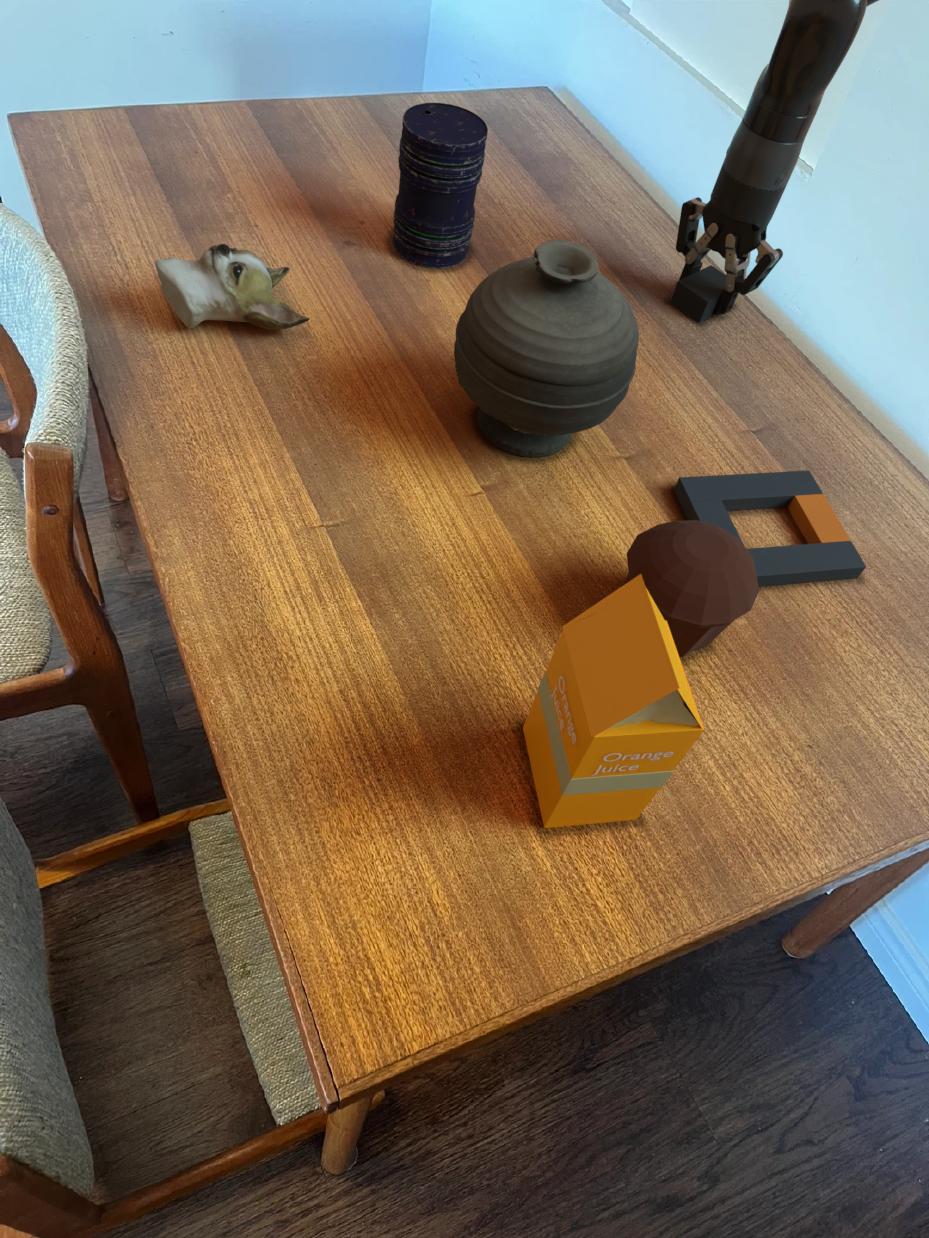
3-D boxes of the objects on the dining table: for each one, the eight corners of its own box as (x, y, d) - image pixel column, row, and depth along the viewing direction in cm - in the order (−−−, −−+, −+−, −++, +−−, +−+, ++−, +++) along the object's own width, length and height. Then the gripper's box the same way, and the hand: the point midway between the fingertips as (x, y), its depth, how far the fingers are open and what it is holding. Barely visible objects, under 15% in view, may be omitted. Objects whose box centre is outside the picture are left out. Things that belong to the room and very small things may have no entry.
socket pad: (801, 482, 94) (809, 470, 93) (857, 578, 87) (866, 566, 86) (673, 489, 91) (679, 477, 89) (720, 590, 83) (727, 578, 82)
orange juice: (610, 720, 73) (696, 570, 57) (638, 820, 68) (740, 686, 52) (520, 726, 71) (582, 574, 55) (541, 829, 66) (616, 694, 50)
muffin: (625, 673, 76) (663, 604, 68) (590, 573, 82) (621, 500, 74) (747, 661, 79) (797, 594, 71) (705, 565, 85) (746, 494, 77)
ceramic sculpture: (146, 216, 90) (290, 217, 95) (152, 290, 97) (286, 287, 102) (162, 278, 85) (314, 275, 90) (167, 352, 92) (308, 345, 97)
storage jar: (485, 253, 111) (506, 132, 99) (431, 278, 106) (446, 154, 94) (430, 216, 114) (444, 94, 103) (374, 239, 109) (383, 114, 98)
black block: (702, 285, 114) (711, 264, 112) (732, 306, 112) (741, 285, 110) (669, 302, 111) (677, 281, 108) (699, 323, 109) (708, 302, 107)
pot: (502, 508, 85) (541, 319, 70) (412, 404, 94) (429, 219, 79) (644, 462, 92) (706, 283, 77) (547, 370, 101) (586, 195, 86)
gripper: (827, 191, 97) (762, 322, 111) (727, 132, 102) (677, 264, 116) (789, 209, 93) (727, 342, 107) (687, 146, 99) (641, 281, 112)
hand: (702, 301), depth 111 cm, fingers closed on black block, 5 cm apart
